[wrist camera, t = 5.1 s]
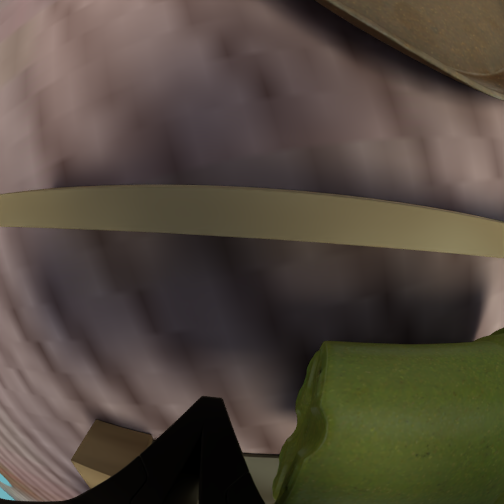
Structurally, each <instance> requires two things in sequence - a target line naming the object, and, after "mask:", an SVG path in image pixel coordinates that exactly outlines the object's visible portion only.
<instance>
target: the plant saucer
mask: <svg viewBox="0 0 504 504" xmlns="http://www.w3.org/2000/svg"><path fill="white" fill-rule="evenodd" d="M315 1H317V2H318V3H320V4H321V5H322V6H324V7H326V8H327V9H329V10H330V11H332V12H333V13H335V14H337V15H338V16H340V17H341V18H343V19H345V20H346V21H348V22H349V23H351V24H353V25H354V26H356V27H358V28H359V29H361V30H363V31H365V32H366V33H368V34H370V35H371V36H373V37H375V38H377V39H378V40H380V41H382V42H384V43H385V44H387V45H389V46H391V47H393V48H394V49H396V50H398V51H400V52H402V53H403V54H405V55H407V56H409V57H411V58H413V59H415V60H417V61H419V62H421V63H422V64H424V65H426V66H428V67H430V68H432V69H434V70H436V71H438V72H440V73H442V74H444V75H446V76H448V77H450V78H452V79H454V80H456V81H458V82H460V83H463V84H465V85H467V86H469V87H471V88H474V89H476V90H478V91H481V92H483V93H485V94H488V95H490V96H492V97H495V98H498V99H500V100H503V101H504V0H315Z"/></svg>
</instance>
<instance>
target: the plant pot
mask: <svg viewBox="0 0 504 504" xmlns="http://www.w3.org/2000/svg"><path fill="white" fill-rule="evenodd" d="M295 411H296V414H297V427H296V429H295V431H294V433H293V434H292V435H291V436H290V437H289V438H288V439H287V440H286V442H285V444H284V445H283V446H282V449H281V452H280V455H279V467H278V471H277V475H276V477H275V478H274V480H273V486H272V491H273V498H274V500H275V503H274V504H504V328H502V329H499V330H497V331H495V332H494V333H492V334H491V335H489V336H485V337H482V338H479V339H477V340H475V341H473V342H464V343H444V344H383V343H359V342H341V341H324V342H323V343H322V346H321V347H320V350H319V351H317V352H316V353H315V354H314V356H313V358H312V359H311V360H310V362H309V365H308V367H307V375H306V378H305V380H304V383H303V386H302V387H301V389H300V390H299V393H298V396H297V399H296V408H295Z"/></svg>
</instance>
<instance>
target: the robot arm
mask: <svg viewBox="0 0 504 504" xmlns="http://www.w3.org/2000/svg"><path fill="white" fill-rule="evenodd" d="M197 503H198V504H265V502H264V500H263V499H262V497H261V495H260V493H259V491H258V489H257V487H256V485H255V483H254V481H253V478H252V476H251V473H249V469H248V466H247V464H246V461H245V459H244V456H243V453H242V451H241V448H240V446H239V443H238V440H237V438H236V435H235V432H234V429H233V427H232V424H231V421H230V418H229V415H228V412H227V410H226V407H225V404H224V401H223V399H222V398H217V397H207V396H202V397H200V398H199V399H198V400H197V401H196V402H195V403H194V404H193V405H192V406H191V407H190V408H189V409H188V410H187V411H186V412H185V413H184V414H183V415H182V416H181V417H180V418H179V419H178V420H177V421H176V422H175V423H174V424H172V425H171V426H170V427H169V428H168V429H167V430H166V431H165V432H164V433H163V434H162V435H161V436H160V437H158V438H157V439H156V440H155V441H154V442H153V443H152V444H151V445H150V446H148V447H147V448H146V449H145V450H144V451H143V452H142V453H141V454H140V456H137V457H136V458H135V459H134V460H132V461H131V462H130V463H129V464H128V465H126V466H125V467H124V468H123V469H121V470H120V471H119V472H117V473H116V474H114V475H113V476H111V477H110V478H108V479H106V480H105V481H103V482H102V483H100V484H98V485H96V486H95V487H93V488H91V489H90V490H88V491H86V492H84V493H83V494H81V495H79V496H77V497H75V498H72V499H69V500H64V501H50V502H35V501H12V500H5V499H1V498H0V504H197Z"/></svg>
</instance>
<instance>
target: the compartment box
mask: <svg viewBox="0 0 504 504" xmlns="http://www.w3.org/2000/svg"><path fill="white" fill-rule="evenodd" d="M0 227H34V228H63V229H89V230H112V231H134V232H154V233H174V234H192V235H210V236H227V237H243V238H259V239H275V240H290V241H304V242H318V243H332V244H346V245H359V246H372V247H384V248H397V249H409V250H421V251H432V252H443V253H454V254H465V255H476V256H486V257H497V258H504V222H503V221H499V220H495V219H490V218H485V217H481V216H476V215H471V214H466V213H461V212H455V211H450V210H444V209H439V208H433V207H427V206H421V205H415V204H408V203H402V202H395V201H388V200H380V199H373V198H365V197H356V196H348V195H338V194H329V193H319V192H308V191H296V190H283V189H269V188H253V187H233V186H207V185H106V186H82V187H64V188H50V189H40V190H31V191H22V192H14V193H6V194H0ZM153 442H154V440H153V439H152V436H151V435H150V434H145V433H141V432H137V431H133V430H130V429H126V428H122V427H119V426H115V425H112V424H109V423H106V422H102V421H99V420H95V422H94V424H93V425H92V427H91V428H90V430H89V431H88V433H87V435H86V436H85V438H84V439H83V441H82V443H81V444H80V446H79V447H78V449H77V451H76V452H75V454H74V456H73V457H72V459H71V461H72V463H73V464H74V466H75V467H76V469H77V470H78V472H79V473H80V475H81V476H82V478H83V479H84V480H85V482H86V483H87V484H88V486H89V487H90V488H93V487H95V486H96V485H98V484H100V483H102V482H103V481H105V480H106V479H108V478H110V477H111V476H113V475H114V474H116V473H117V472H119V471H120V470H121V469H123V468H124V467H125V466H126V465H128V464H129V463H130V462H131V461H132V460H134V459H135V458H136V457H137V456H140V454H141V453H142V452H143V451H144V450H145V449H146V448H147V447H148V446H150V445H151V444H152V443H153ZM243 456H244V459H245V461H246V464H247V466H248V469H249V473H251V476H252V478H253V481H254V483H255V485H256V487H257V489H258V491H259V493H260V495H261V497H262V499H263V500H264V502H265V504H274V503H275V500H274V498H273V491H272V486H273V480H274V478H275V477H276V475H277V471H278V467H279V455H257V454H243ZM197 504H198V503H197Z"/></svg>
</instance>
